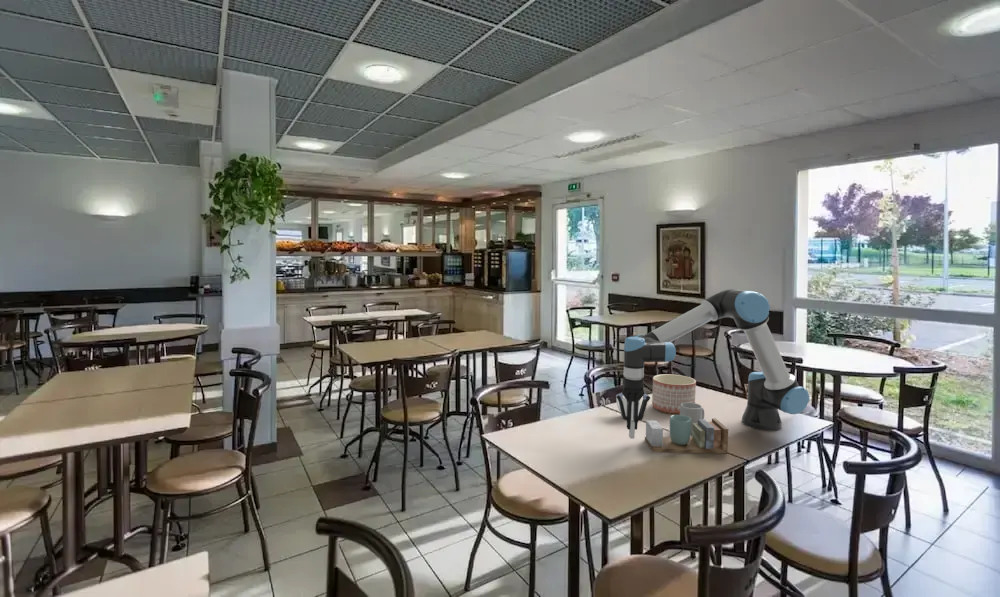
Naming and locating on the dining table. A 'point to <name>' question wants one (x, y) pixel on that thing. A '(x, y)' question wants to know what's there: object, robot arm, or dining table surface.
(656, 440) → the bookend
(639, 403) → the mug
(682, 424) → the cup
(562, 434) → the dining table surface
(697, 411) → the mug
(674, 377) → the planter
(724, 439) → the caddy
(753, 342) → the robot arm
